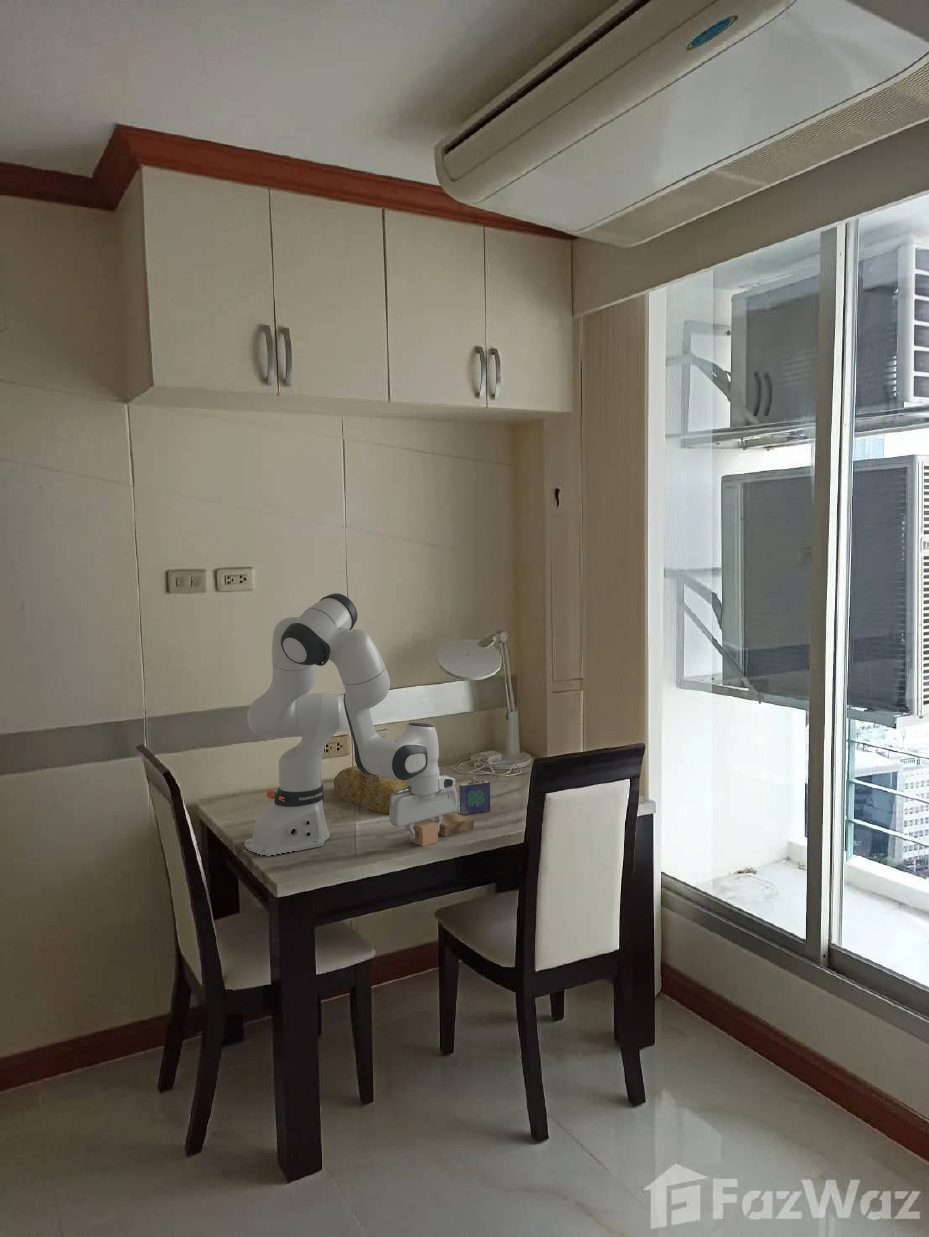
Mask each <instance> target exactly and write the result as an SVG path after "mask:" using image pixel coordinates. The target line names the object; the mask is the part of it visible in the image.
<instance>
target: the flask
mask: <svg viewBox="0 0 929 1237" xmlns="http://www.w3.org/2000/svg"><path fill="white" fill-rule="evenodd" d="M470 778H471V780H470V781H469V782H462V783H460V784H459V785H458V786H459V787H458V788H459V814H460V815H463V816H465V817H468V816H473V815H478V814H479V815H480V814H487V813H488V814H489V813H491V782H490V781H488V780H485V779H479V780H478V779H477V778H476V775H473V776H471V777H470Z"/></svg>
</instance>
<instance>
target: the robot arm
mask: <svg viewBox="0 0 929 1237" xmlns="http://www.w3.org/2000/svg"><path fill="white" fill-rule="evenodd" d="M358 614H359V613H358V610H357V608H356V606H355V604H354V602H353V601H352V600H351V599H350V598H349V597H348V596H346V595H344V594H341V593H338V592H337V593H331V594H328V595H326V596H324V597H322V598H320V600H319V601H317V602H315V603H313V605H311V606H309V607H308V608H307V609H306V610H304V611H303V613H301V614H300V615H299V616H298V617H297V616H290V617H286V618H284V619H283V618H282V619H281V620H280V621H279V622H278V623H276V625H275V627H274V630H273V635H272V642H271V662H272V664H271V665H272V677H271V678H272V679H271V682H270V685H269V686H268V688H267V689H266V691H265V692H264V693H263V694H262V695H260V696H259V697H257V698H255V699H254V700H253V701H252V703H250V705H249V707H248V710H247V714H246V715H247V716H246V719H247V724H248V727H249V729H250V731H251V732H252V733H253V734H255V736H259V737H265V738H266V737H267V738H284V737H285V738H286V737H287V738H288V737H301V740H300V741H299V743H298V744H297V745H295V746H293V747H292V748H290V749H287V750H286V751H285V752H283V753H282V754H281V756H280V758H279V760H278V781H279V782H278V783H279V786H278V788H277V790H276V791H273V790H271V789H269V790H267V792H266V794H265V795H266V797H267V798H268V799H271V800H273V799H274V800H273V804H271V805H270V806H269V807H268V808H267V809H266V811H264V812H263V813H262V814H261V816H260V817H258V818H257V819H256V820H255V822H254V824H253V831H252V837H250V838H247V839H245V841H244V848H245V847H246V848H245V849H246V850H247V849H248V850H247V851H249V852H251V851H252V852H251V853H253V852H255V853H257V854H256V855H258V854H260V855H259V856H262V855H266V856H265V857H272V856H271V855H274V856H277V855H276V854H280V855H282V854H281V853H285V854H287V853H286V852H290V853H293V852H292V851H295V852H298V851H299V852H300V851H303V850H309V849H314V848H319V847H323V846H325V842H326V841H327V840H328V839H329V838H330V836H331V834H330V831H329V827H328V825H327V821H326V816H325V809H324V802H325V800H324V799H325V792H324V784H323V783H322V760H323V754H324V751H325V748H326V746H327V744H328V742H329V741H330V740H331V739H332V737H333V736H334V735H336V733H337V732H339V731H340V730H341V729H342V727H343V726H344V725H345V723H346V720H347V724H348V727H349V731H350V733H351V738H352V742H353V749H354V750H353V752H354V761H355V762H354V763H355V764H356V765H355V766H357V767H358V769H359V770H360V771H361V772H362V773H364V774H366V775H375V776H381V777H386V778H391V779H396V780H406V788H403V789H401V790H396V791H394V793H393V794H392V795H391V797H390V811H389V814H388V820H389V824H390V825H391V826H394V827H397V828H401V827H405V828H406V829H407V831H408V835H409V839H415V838H418V832H417V831H414V829H413V827H414V823H415V822H419V821H422V820H426V819H429V818H433V817H434V818H435V821H434V822H435V823H438V832H439V831H440V829H439V825H440V824H441V821H442V819H443V814H447V813H450V812H454V813H455V812H456V810H457V809H458V793H457V789H456V787H455V786H456V779H455V778H453V777H451V776H449V775H445V774H441V773H440V767H439V764H438V763H439V757H440V750H439V749H440V748H439V738H438V733H437V729H436V727H435V726H434V725H432V724H429V723H424V722H410V723H407V724H406V726H405V727H406V728H405V730H404V732H403V733H402V734H401V735H400V736H399V737H398V738H396V739H390V738H385V737H383V736H381V735H380V734H379V733H377V732H376V729H375V727H374V726H375V725H374V723H373V718H372V715H371V709H372V708H374V707H376V706H377V705H379V704H380V703H381V702H382V701H384V699H386V697H387V696H388V694H389V691H390V688H391V679H390V675H389V672H388V670H387V667H386V664H385V662H384V660H383V657H382V655H381V653H380V651H379V648H378V647H377V645H376V643H375V642H374V640H373V639H372V637H371V636H370V634H369V633H367V631H365V630H362V629H353V628H354V627H355V625H356V623H357V621H358ZM329 661H330V662H331V663H333V664H334V666H335V667H336V669H337V671H338V674H339V677H340V680H341V682H342V684H343V687H344V694H343V699H342V698H341V697H340V696H339V695H338V694H332V693H325V692H316V693H315V692H313V693H309V692H310V691H311V690H312V689H313V688H314V687H315V684H316V682H317V680H318V668H317V667H321V666H325V665H326V664H327V663H328V662H329ZM394 794H395V795H394ZM255 853H254V854H255Z"/></svg>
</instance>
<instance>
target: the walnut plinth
mask: <svg viewBox="0 0 929 1237" xmlns="http://www.w3.org/2000/svg"><path fill="white" fill-rule="evenodd" d="M427 820H430V821H432V822H434V821H435V818H434V817H433V818H429V819H427ZM474 820H475V819H473V818H471V817H468V816H465V815H460V813H457V812H455V811H454V812H450V813H447V814H443V819H442V821H441V824H440V825H439V829H440V831H439V832H438V836H441V837H444V838H445V837H450V836H453V835H456V834H459V833H462V832H466V831H469V830H472V829H474V827H475V826H474Z"/></svg>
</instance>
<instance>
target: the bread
mask: <svg viewBox="0 0 929 1237" xmlns="http://www.w3.org/2000/svg"><path fill="white" fill-rule="evenodd" d="M403 788H406V780H396V779H391V778H386V777H381V776H375V775H366V774H364V773H362V772H361V771H360V770H359V769H358V767H357V765H355V766H350V767H345V768H344V769H342V770H341V771H339V772H338V773H337V775H335V777H334V779H333V792H334V791H335V792H334V793H335V796H337V795H338V796H337V797H338V798H340V799H341V800H342V799H344V800H343V801H345V800H346V801H345V802H348V803H352V804H355V805H358V806H359V807H360V806H361V807H363V808H366V809H369V810H372V811H375V812H377V813H380V814H387V815H389V811H390V797H391V795H392V794H393V793H394V791H396V790H401V789H403ZM394 795H395V794H394Z"/></svg>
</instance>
